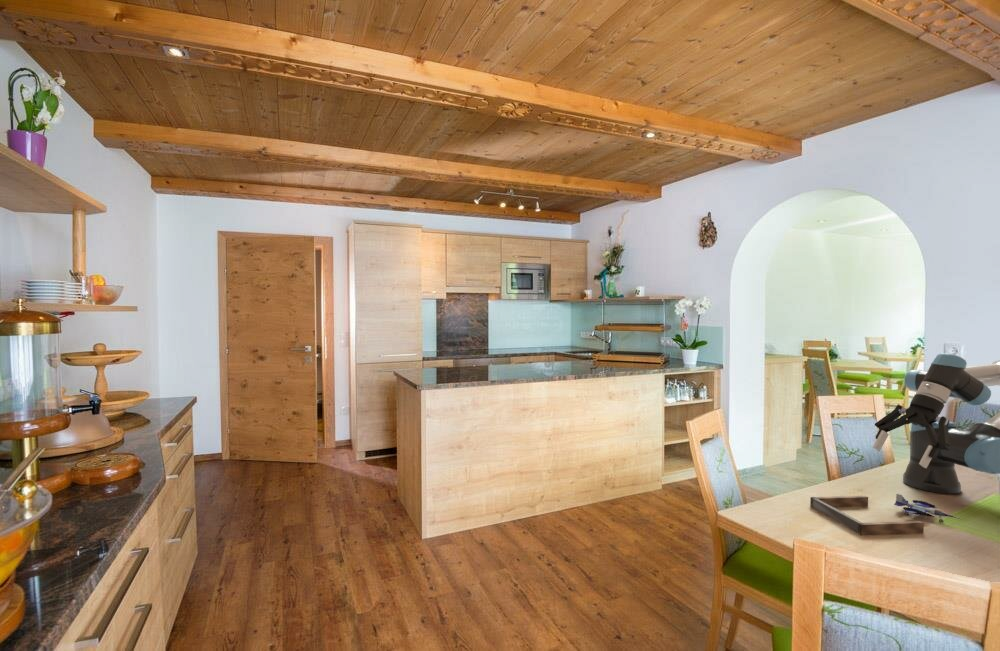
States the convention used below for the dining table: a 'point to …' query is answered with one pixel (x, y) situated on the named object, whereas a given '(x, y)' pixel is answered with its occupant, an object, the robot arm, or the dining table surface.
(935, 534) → the dining table surface
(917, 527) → the frame
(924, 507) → the toy airplane
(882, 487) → the dining table surface
